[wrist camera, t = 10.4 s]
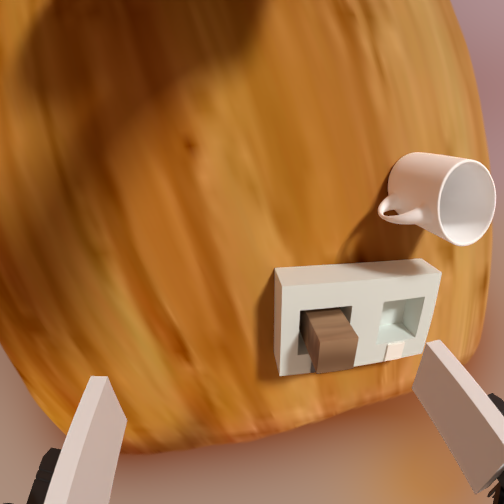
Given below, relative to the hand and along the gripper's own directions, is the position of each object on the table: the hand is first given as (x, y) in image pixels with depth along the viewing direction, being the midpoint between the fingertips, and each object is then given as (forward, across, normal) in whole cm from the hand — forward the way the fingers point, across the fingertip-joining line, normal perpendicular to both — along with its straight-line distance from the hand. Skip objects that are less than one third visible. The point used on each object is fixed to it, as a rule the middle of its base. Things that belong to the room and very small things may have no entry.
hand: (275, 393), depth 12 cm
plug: (+24, +8, -12) cm, 28 cm away
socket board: (+25, +13, -12) cm, 31 cm away
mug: (+26, +20, +3) cm, 32 cm away
